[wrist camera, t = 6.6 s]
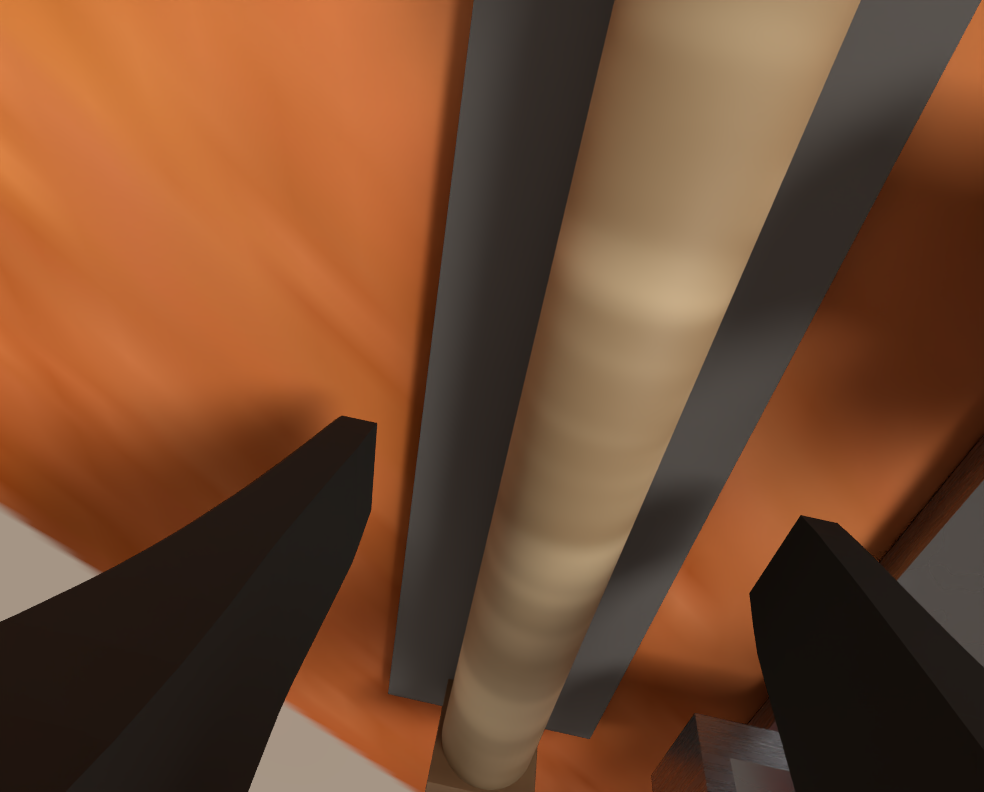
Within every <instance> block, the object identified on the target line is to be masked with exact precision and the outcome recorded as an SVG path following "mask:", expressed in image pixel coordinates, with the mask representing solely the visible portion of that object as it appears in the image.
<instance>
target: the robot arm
mask: <svg viewBox="0 0 984 792" xmlns="http://www.w3.org/2000/svg"><path fill="white" fill-rule="evenodd" d="M376 433H377V423H374V422H369V421H365V420H360V419H356V418H351V417H346V416H341V417H339V418H337V419H336V420H334V421H333V422H332V423H330V424H329V425H328V426H326V427H325V428H324V429H323V430H321V431H320V432H319V433H318V434H316V435H315V436H314V437H312V438H311V439H310V440H309V441H307V442H306V443H305V444H303V445H302V446H301V447H299V448H298V449H297V450H296V451H294V452H293V453H292V454H290V455H289V456H288V457H286V458H285V459H284V460H282V461H281V462H280V463H278V464H277V465H275V466H274V467H273V468H271V469H270V470H268V471H267V472H266V473H264V474H263V475H262V476H260V477H259V478H257V479H256V480H255V481H253V482H252V483H250V484H249V485H248V486H246V487H245V488H243V489H242V490H240V491H239V492H237V493H236V494H235V495H233V496H232V497H230V498H228V499H227V500H225V501H224V502H222V503H221V504H219V505H218V506H216V507H215V508H213V509H211V510H210V511H208V512H207V513H205V514H204V515H202V516H201V517H199V518H198V519H196V520H195V521H193V522H191V523H190V524H188V525H187V526H185V527H183V528H182V529H180V530H178V531H177V532H175V533H173V534H172V535H170V536H168V537H167V538H165V539H163V540H162V541H160V542H158V543H156V544H155V545H153V546H151V547H149V548H148V549H146V550H144V551H142V552H140V553H139V554H137V555H135V556H133V557H131V558H130V559H128V560H126V561H124V562H122V563H120V564H119V565H117V566H115V567H113V568H111V569H109V570H107V571H105V572H103V573H101V574H99V575H97V576H95V577H93V578H91V579H90V580H87V581H85V582H83V583H81V584H80V585H77V586H75V587H73V588H71V589H69V590H67V591H65V592H63V593H61V594H59V595H56V596H54V597H52V598H50V599H48V600H46V601H44V602H42V603H40V604H38V605H36V606H33V607H31V608H29V609H27V610H25V611H23V612H21V613H19V614H17V615H15V616H12V617H10V618H8V619H6V620H3V621H1V622H0V792H248V790H249V788H250V785H251V783H252V780H253V778H254V775H255V772H256V770H257V767H258V765H259V762H260V760H261V757H262V755H263V752H264V750H265V747H266V744H267V742H268V739H269V737H270V734H271V731H272V729H273V727H274V724H275V722H276V719H277V716H278V714H279V712H280V709H281V707H282V705H283V703H284V701H285V698H286V696H287V694H288V692H289V689H290V687H291V685H292V683H293V681H294V679H295V677H296V675H297V673H298V671H299V669H300V667H301V665H302V663H303V661H304V659H305V657H306V655H307V653H308V651H309V649H310V647H311V645H312V643H313V641H314V639H315V637H316V635H317V633H318V631H319V629H320V627H321V625H322V623H323V621H324V619H325V617H326V615H327V613H328V611H329V609H330V607H331V605H332V603H333V601H334V599H335V597H336V595H337V593H338V591H339V589H340V587H341V585H342V583H343V580H344V578H345V576H346V574H347V572H348V570H349V568H350V566H351V564H352V562H353V559H354V556H355V554H356V551H357V548H358V546H359V543H360V540H361V537H362V535H363V532H364V529H365V526H366V523H367V520H368V517H369V515H370V512H371V505H372V490H373V476H374V462H375V447H376ZM749 594H750V603H751V611H752V620H753V628H754V635H755V641H756V648H757V654H758V658H759V661H760V665H761V669H762V673H763V677H764V681H765V684H766V688H767V692H768V695H769V699H770V703H771V706H772V710H773V714H774V717H775V721H776V724H777V728H778V732H779V735H780V739H781V742H782V746H783V750H784V753H785V757H786V760H787V764H788V768H789V771H790V775H791V778H792V782H793V786H794V789H795V792H984V667H983V666H982V665H981V664H980V663H979V662H978V661H977V660H976V659H975V658H974V657H973V656H972V655H971V654H969V653H968V652H967V651H966V650H965V649H964V648H963V647H962V646H961V645H960V644H959V643H958V642H957V641H956V640H955V639H954V638H953V637H952V636H951V635H950V634H949V633H948V632H947V631H946V630H945V629H944V628H943V627H942V626H941V625H940V624H939V623H938V622H937V621H936V620H935V619H934V618H933V617H932V616H931V615H930V614H929V613H928V612H927V611H926V610H925V609H924V608H923V607H922V606H921V605H920V604H919V603H918V602H917V601H916V600H915V599H914V598H913V597H912V596H911V595H910V594H909V593H908V592H907V591H906V590H905V589H904V587H903V586H902V585H901V584H900V583H899V582H898V581H897V580H896V579H895V578H894V577H893V576H892V575H891V574H890V573H889V572H888V571H887V570H886V569H885V568H884V567H883V566H882V565H881V564H880V563H879V562H878V561H877V560H876V559H875V558H874V557H873V556H872V555H871V554H870V553H869V552H868V551H867V550H866V549H865V548H864V547H863V546H862V545H861V544H860V543H859V542H857V541H856V540H855V539H854V538H853V537H852V536H851V535H850V534H849V533H848V532H847V531H846V530H844V529H843V528H842V527H841V526H840V525H839V524H838V523H834V522H830V521H825V520H820V519H816V518H811V517H807V516H802V515H801V516H800V517H799V519H798V520H797V522H796V523H795V525H794V526H793V528H792V529H791V531H790V532H789V534H788V535H787V537H786V538H785V540H784V541H783V543H782V545H781V546H780V548H779V549H778V551H777V552H776V554H775V555H774V557H773V558H772V560H771V561H770V563H769V564H768V566H767V567H766V569H765V570H764V572H763V573H762V575H761V577H760V578H759V580H758V581H757V583H756V584H755V586H754V587H753V589H752V590H751V592H750V593H749Z"/></svg>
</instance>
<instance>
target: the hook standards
mask: <svg viewBox="0 0 984 792" xmlns="http://www.w3.org/2000/svg"><path fill="white" fill-rule="evenodd" d="M880 564H881V565H882V566H883V567H884V568H885V569H886V570H887V571H888V572H889V573H890V574H891V575H892V576H893V577H894V578H895V579H896V580H897V581H898V582H899V583H900V584H901V585H902V586H903V587H904V589H905V590H906V591H907V592H908V593H909V594H910V595H911V596H912V597H913V598H914V599H915V600H916V601H917V602H918V603H919V604H920V605H921V606H922V607H923V608H924V609H925V610H926V611H927V612H928V613H929V614H930V615H931V616H932V617H933V618H934V619H935V620H936V621H937V622H938V623H939V624H940V625H941V626H942V627H943V628H944V629H945V630H946V631H947V632H948V633H949V634H950V635H951V636H952V637H953V638H954V639H955V640H956V641H957V642H958V643H959V644H960V645H961V646H962V647H963V648H964V649H965V650H966V651H967V652H968V653H969V654H971V655H972V656H973V657H974V658H975V659H976V660H977V661H978V662H979V663H980V664H981V665H982V666H983V667H984V435H983V437H982V438H981V439H980V440H979V442H978V443H977V444H976V445H975V446H974V448H973V449H972V450H971V451H970V453H969V454H968V455H967V456H966V457H965V459H964V460H963V461H962V462H961V464H960V465H959V466H958V467H957V469H956V470H955V471H954V472H953V473H952V475H951V476H950V477H949V478H948V480H947V481H946V482H945V483H944V484H943V486H942V487H941V488H940V489H939V491H938V492H937V493H936V494H935V495H934V497H933V498H932V499H931V500H930V502H929V503H928V504H927V505H926V506H925V508H924V509H923V510H922V511H921V513H920V514H919V515H918V516H917V518H916V519H915V520H914V521H913V522H912V524H911V525H910V526H909V527H908V529H907V530H906V531H905V532H904V533H903V535H902V536H901V537H900V538H899V540H898V541H897V542H896V543H895V544H894V546H893V547H892V548H891V549H890V551H889V552H888V553H887V554H886V555H885V557H884V558H883V559H882V560H881V562H880ZM651 779H652V790H653V792H795V789H794V786H793V782H792V778H791V775H790V771H789V768H788V764H787V760H786V757H785V753H784V750H783V746H782V742H781V739H780V735H779V732H778V728H777V724H776V721H775V717H774V714H773V710H772V706H771V703H770V699H768V700H767V701H766V702H765V704H764V705H763V706H762V707H761V709H760V710H759V711H758V712H757V714H756V715H755V716H754V717H753V718H752V720H751V721H750V722H749V723H748V725H746V724H742V723H737V722H733V721H728V720H724V719H719V718H715V717H711V716H706V715H702V714H697V713H694V715H693V716H692V718H691V719H690V721H689V722H688V723H687V725H686V726H685V728H684V729H683V731H682V732H681V733H680V735H679V736H678V738H677V739H676V741H675V742H674V743H673V745H672V746H671V748H670V749H669V751H668V752H667V753H666V755H665V756H664V758H663V759H662V761H661V762H660V763H659V765H658V766H657V768H656V769H655V771H654V772H653V773H652V775H651Z"/></svg>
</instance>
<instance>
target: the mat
mask: <svg viewBox="0 0 984 792" xmlns="http://www.w3.org/2000/svg"><path fill="white" fill-rule="evenodd" d="M614 1H615V0H474V3H473V11H472V19H471V27H470V35H469V43H468V51H467V59H466V68H465V76H464V84H463V92H462V100H461V108H460V116H459V124H458V132H457V140H456V148H455V157H454V165H453V173H452V181H451V189H450V197H449V205H448V213H447V221H446V229H445V238H444V246H443V254H442V262H441V270H440V278H439V286H438V294H437V302H436V310H435V318H434V327H433V335H432V343H431V351H430V359H429V367H428V375H427V383H426V391H425V399H424V408H423V416H422V424H421V432H420V440H419V448H418V456H417V464H416V472H415V480H414V488H413V497H412V505H411V513H410V521H409V529H408V537H407V545H406V553H405V561H404V569H403V578H402V586H401V594H400V602H399V610H398V618H397V626H396V634H395V642H394V650H393V658H392V667H391V675H390V683H389V691H388V694H391V695H396V696H400V697H404V698H409V699H413V700H418V701H422V702H427V703H431V704H436V705H440V706H443V702H444V697H445V692H446V688H447V683H448V679H452V680H454V677H455V673H456V668H457V664H458V660H459V656H460V651H461V647H462V643H463V639H464V635H465V630H466V626H467V622H468V618H469V613H470V609H471V605H472V601H473V597H474V592H475V588H476V584H477V580H478V575H479V571H480V567H481V563H482V558H483V554H484V550H485V546H486V542H487V537H488V533H489V529H490V525H491V520H492V516H493V512H494V508H495V504H496V499H497V495H498V491H499V487H500V482H501V478H502V474H503V470H504V466H505V461H506V457H507V453H508V449H509V444H510V440H511V436H512V432H513V427H514V423H515V419H516V415H517V411H518V406H519V402H520V398H521V394H522V389H523V385H524V381H525V377H526V373H527V368H528V364H529V360H530V356H531V351H532V347H533V343H534V339H535V334H536V330H537V326H538V322H539V318H540V313H541V309H542V305H543V301H544V296H545V292H546V288H547V284H548V280H549V275H550V271H551V267H552V263H553V258H554V254H555V250H556V246H557V242H558V237H559V233H560V229H561V225H562V220H563V216H564V212H565V208H566V203H567V199H568V195H569V191H570V187H571V182H572V178H573V174H574V170H575V165H576V161H577V157H578V153H579V149H580V144H581V140H582V136H583V132H584V127H585V123H586V119H587V115H588V111H589V106H590V102H591V98H592V94H593V89H594V85H595V81H596V77H597V72H598V68H599V64H600V60H601V56H602V51H603V47H604V43H605V39H606V34H607V30H608V26H609V22H610V18H611V13H612V9H613V5H614ZM980 2H981V0H861V1H860V4H859V6H858V8H857V10H856V13H855V15H854V17H853V20H852V22H851V24H850V27H849V29H848V31H847V33H846V36H845V38H844V40H843V43H842V45H841V47H840V50H839V52H838V54H837V57H836V59H835V61H834V63H833V66H832V68H831V70H830V73H829V75H828V77H827V80H826V82H825V84H824V86H823V89H822V91H821V93H820V96H819V98H818V100H817V103H816V105H815V107H814V110H813V112H812V114H811V116H810V119H809V121H808V123H807V126H806V128H805V130H804V133H803V135H802V137H801V139H800V142H799V144H798V146H797V149H796V151H795V153H794V156H793V158H792V160H791V163H790V165H789V167H788V169H787V172H786V174H785V176H784V179H783V181H782V183H781V186H780V188H779V190H778V192H777V195H776V197H775V199H774V202H773V204H772V206H771V209H770V211H769V213H768V216H767V218H766V220H765V222H764V225H763V227H762V229H761V232H760V234H759V236H758V239H757V241H756V243H755V245H754V248H753V250H752V252H751V255H750V257H749V259H748V262H747V264H746V266H745V269H744V271H743V273H742V275H741V278H740V280H739V282H738V285H737V287H736V289H735V292H734V294H733V296H732V298H731V301H730V303H729V305H728V308H727V310H726V312H725V315H724V317H723V319H722V322H721V324H720V326H719V328H718V331H717V333H716V335H715V338H714V340H713V342H712V345H711V347H710V349H709V351H708V354H707V356H706V358H705V361H704V363H703V365H702V368H701V370H700V372H699V375H698V377H697V379H696V381H695V384H694V386H693V388H692V391H691V393H690V395H689V398H688V400H687V402H686V404H685V407H684V409H683V411H682V414H681V416H680V418H679V421H678V423H677V425H676V428H675V430H674V432H673V434H672V437H671V439H670V441H669V444H668V446H667V448H666V451H665V453H664V455H663V457H662V460H661V462H660V464H659V467H658V469H657V471H656V474H655V476H654V478H653V481H652V483H651V485H650V487H649V490H648V492H647V494H646V497H645V499H644V501H643V504H642V506H641V508H640V511H639V513H638V515H637V517H636V520H635V522H634V524H633V527H632V529H631V531H630V534H629V536H628V538H627V540H626V543H625V545H624V547H623V550H622V552H621V554H620V557H619V559H618V561H617V564H616V566H615V568H614V570H613V573H612V575H611V577H610V580H609V582H608V584H607V587H606V589H605V591H604V593H603V596H602V598H601V600H600V603H599V605H598V607H597V610H596V612H595V614H594V617H593V619H592V621H591V623H590V626H589V628H588V630H587V633H586V635H585V637H584V640H583V642H582V644H581V646H580V649H579V651H578V653H577V656H576V658H575V660H574V663H573V665H572V667H571V670H570V672H569V674H568V676H567V679H566V681H565V683H564V686H563V688H562V690H561V693H560V695H559V697H558V699H557V702H556V704H555V706H554V709H553V711H552V713H551V716H550V718H549V720H548V723H547V725H546V727H545V729H547V730H551V731H556V732H560V733H565V734H569V735H574V736H578V737H583V738H587V739H590V738H591V736H592V734H593V732H594V730H595V728H596V726H597V724H598V723H599V721H600V719H601V717H602V715H603V713H604V711H605V709H606V707H607V706H608V704H609V702H610V700H611V698H612V696H613V694H614V692H615V690H616V689H617V687H618V685H619V683H620V681H621V679H622V677H623V675H624V673H625V672H626V670H627V668H628V666H629V664H630V662H631V660H632V658H633V656H634V655H635V653H636V651H637V649H638V647H639V645H640V643H641V641H642V639H643V638H644V636H645V634H646V632H647V630H648V628H649V626H650V624H651V623H652V621H653V619H654V617H655V615H656V613H657V611H658V609H659V607H660V606H661V604H662V602H663V600H664V598H665V596H666V594H667V592H668V590H669V589H670V587H671V585H672V583H673V581H674V579H675V577H676V575H677V573H678V572H679V570H680V568H681V566H682V564H683V562H684V560H685V558H686V556H687V555H688V553H689V551H690V549H691V547H692V545H693V543H694V541H695V539H696V538H697V536H698V534H699V532H700V530H701V528H702V526H703V524H704V523H705V521H706V519H707V517H708V515H709V513H710V511H711V509H712V507H713V506H714V504H715V502H716V500H717V498H718V496H719V494H720V492H721V490H722V489H723V487H724V485H725V483H726V481H727V479H728V477H729V475H730V473H731V472H732V470H733V468H734V466H735V464H736V462H737V460H738V458H739V456H740V455H741V453H742V451H743V449H744V447H745V445H746V443H747V441H748V439H749V438H750V436H751V434H752V432H753V430H754V428H755V426H756V424H757V423H758V421H759V419H760V417H761V415H762V413H763V411H764V409H765V407H766V406H767V404H768V402H769V400H770V398H771V396H772V394H773V392H774V390H775V389H776V387H777V385H778V383H779V381H780V379H781V377H782V375H783V373H784V372H785V370H786V368H787V366H788V364H789V362H790V360H791V358H792V356H793V355H794V353H795V351H796V349H797V347H798V345H799V343H800V341H801V340H802V338H803V336H804V334H805V332H806V330H807V328H808V326H809V324H810V323H811V321H812V319H813V317H814V315H815V313H816V311H817V309H818V307H819V306H820V304H821V302H822V300H823V298H824V296H825V294H826V292H827V290H828V289H829V287H830V285H831V283H832V281H833V279H834V277H835V275H836V273H837V272H838V270H839V268H840V266H841V264H842V262H843V260H844V258H845V256H846V255H847V253H848V251H849V249H850V247H851V245H852V243H853V241H854V240H855V238H856V236H857V234H858V232H859V230H860V228H861V226H862V224H863V223H864V221H865V219H866V217H867V215H868V213H869V211H870V209H871V207H872V206H873V204H874V202H875V200H876V198H877V196H878V194H879V192H880V190H881V189H882V187H883V185H884V183H885V181H886V179H887V177H888V175H889V173H890V172H891V170H892V168H893V166H894V164H895V162H896V160H897V158H898V156H899V155H900V153H901V151H902V149H903V147H904V145H905V143H906V141H907V140H908V138H909V136H910V134H911V132H912V130H913V128H914V126H915V124H916V123H917V121H918V119H919V117H920V115H921V113H922V111H923V109H924V107H925V106H926V104H927V102H928V100H929V98H930V96H931V94H932V92H933V90H934V89H935V87H936V85H937V83H938V81H939V79H940V77H941V75H942V73H943V72H944V70H945V68H946V66H947V64H948V62H949V60H950V58H951V56H952V55H953V53H954V51H955V49H956V47H957V45H958V43H959V41H960V40H961V38H962V36H963V34H964V32H965V30H966V28H967V26H968V24H969V23H970V21H971V19H972V17H973V15H974V13H975V11H976V9H977V7H978V6H979V4H980Z"/></svg>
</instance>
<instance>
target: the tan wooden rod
mask: <svg viewBox="0 0 984 792" xmlns="http://www.w3.org/2000/svg"><path fill="white" fill-rule="evenodd" d="M860 1H861V0H615V1H614V5H613V9H612V13H611V18H610V22H609V26H608V30H607V34H606V39H605V43H604V47H603V51H602V56H601V60H600V64H599V68H598V72H597V77H596V81H595V85H594V89H593V94H592V98H591V102H590V106H589V111H588V115H587V119H586V123H585V127H584V132H583V136H582V140H581V144H580V149H579V153H578V157H577V161H576V165H575V170H574V174H573V178H572V182H571V187H570V191H569V195H568V199H567V203H566V208H565V212H564V216H563V220H562V225H561V229H560V233H559V237H558V242H557V246H556V250H555V254H554V258H553V263H552V267H551V271H550V275H549V280H548V284H547V288H546V292H545V296H544V301H543V305H542V309H541V313H540V318H539V322H538V326H537V330H536V334H535V339H534V343H533V347H532V351H531V356H530V360H529V364H528V368H527V373H526V377H525V381H524V385H523V389H522V394H521V398H520V402H519V406H518V411H517V415H516V419H515V423H514V427H513V432H512V436H511V440H510V444H509V449H508V453H507V457H506V461H505V466H504V470H503V474H502V478H501V482H500V487H499V491H498V495H497V499H496V504H495V508H494V512H493V516H492V520H491V525H490V529H489V533H488V537H487V542H486V546H485V550H484V554H483V558H482V563H481V567H480V571H479V575H478V580H477V584H476V588H475V592H474V597H473V601H472V605H471V609H470V613H469V618H468V622H467V626H466V630H465V635H464V639H463V643H462V647H461V651H460V656H459V660H458V664H457V668H456V673H455V677H454V680H452V679H448V683H447V688H446V692H445V697H444V702H443V706H442V711H441V716H440V721H439V726H438V731H437V736H436V741H435V746H434V750H433V755H432V760H431V765H430V770H429V775H428V780H427V785H426V790H425V792H535V777H536V760H537V746H538V743H539V741H540V739H541V736H542V734H543V732H544V729H545V727H546V725H547V723H548V720H549V718H550V716H551V713H552V711H553V709H554V706H555V704H556V702H557V699H558V697H559V695H560V693H561V690H562V688H563V686H564V683H565V681H566V679H567V676H568V674H569V672H570V670H571V667H572V665H573V663H574V660H575V658H576V656H577V653H578V651H579V649H580V646H581V644H582V642H583V640H584V637H585V635H586V633H587V630H588V628H589V626H590V623H591V621H592V619H593V617H594V614H595V612H596V610H597V607H598V605H599V603H600V600H601V598H602V596H603V593H604V591H605V589H606V587H607V584H608V582H609V580H610V577H611V575H612V573H613V570H614V568H615V566H616V564H617V561H618V559H619V557H620V554H621V552H622V550H623V547H624V545H625V543H626V540H627V538H628V536H629V534H630V531H631V529H632V527H633V524H634V522H635V520H636V517H637V515H638V513H639V511H640V508H641V506H642V504H643V501H644V499H645V497H646V494H647V492H648V490H649V487H650V485H651V483H652V481H653V478H654V476H655V474H656V471H657V469H658V467H659V464H660V462H661V460H662V457H663V455H664V453H665V451H666V448H667V446H668V444H669V441H670V439H671V437H672V434H673V432H674V430H675V428H676V425H677V423H678V421H679V418H680V416H681V414H682V411H683V409H684V407H685V404H686V402H687V400H688V398H689V395H690V393H691V391H692V388H693V386H694V384H695V381H696V379H697V377H698V375H699V372H700V370H701V368H702V365H703V363H704V361H705V358H706V356H707V354H708V351H709V349H710V347H711V345H712V342H713V340H714V338H715V335H716V333H717V331H718V328H719V326H720V324H721V322H722V319H723V317H724V315H725V312H726V310H727V308H728V305H729V303H730V301H731V298H732V296H733V294H734V292H735V289H736V287H737V285H738V282H739V280H740V278H741V275H742V273H743V271H744V269H745V266H746V264H747V262H748V259H749V257H750V255H751V252H752V250H753V248H754V245H755V243H756V241H757V239H758V236H759V234H760V232H761V229H762V227H763V225H764V222H765V220H766V218H767V216H768V213H769V211H770V209H771V206H772V204H773V202H774V199H775V197H776V195H777V192H778V190H779V188H780V186H781V183H782V181H783V179H784V176H785V174H786V172H787V169H788V167H789V165H790V163H791V160H792V158H793V156H794V153H795V151H796V149H797V146H798V144H799V142H800V139H801V137H802V135H803V133H804V130H805V128H806V126H807V123H808V121H809V119H810V116H811V114H812V112H813V110H814V107H815V105H816V103H817V100H818V98H819V96H820V93H821V91H822V89H823V86H824V84H825V82H826V80H827V77H828V75H829V73H830V70H831V68H832V66H833V63H834V61H835V59H836V57H837V54H838V52H839V50H840V47H841V45H842V43H843V40H844V38H845V36H846V33H847V31H848V29H849V27H850V24H851V22H852V20H853V17H854V15H855V13H856V10H857V8H858V6H859V4H860Z"/></svg>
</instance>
